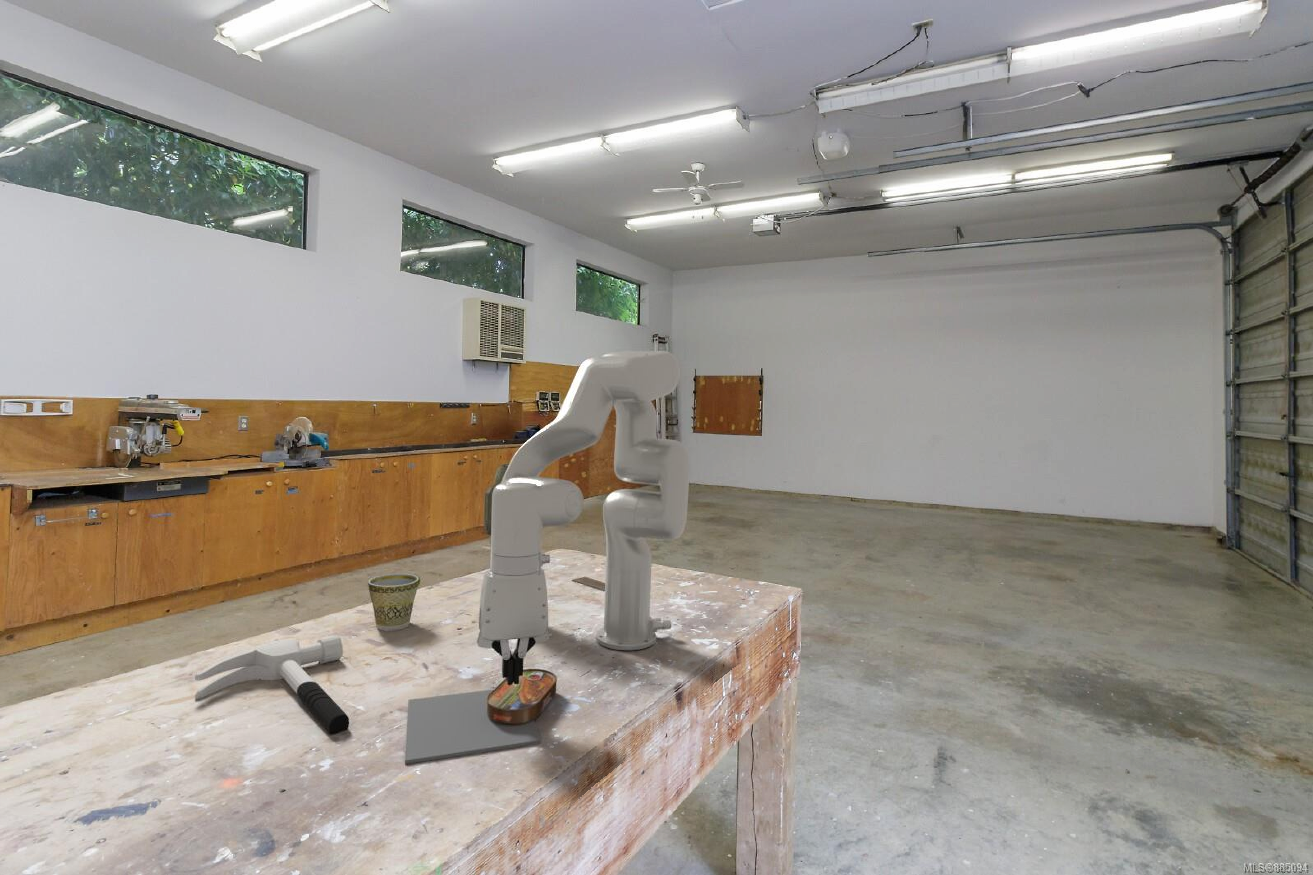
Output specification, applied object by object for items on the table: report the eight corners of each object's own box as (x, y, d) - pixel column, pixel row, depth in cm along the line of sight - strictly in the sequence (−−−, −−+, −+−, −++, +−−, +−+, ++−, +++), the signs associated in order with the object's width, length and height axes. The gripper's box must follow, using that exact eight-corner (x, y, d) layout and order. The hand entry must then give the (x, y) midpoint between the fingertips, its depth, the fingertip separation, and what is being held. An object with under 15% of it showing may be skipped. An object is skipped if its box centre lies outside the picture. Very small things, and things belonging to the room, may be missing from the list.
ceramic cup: (394, 636, 126) (395, 588, 126) (356, 629, 130) (357, 582, 129) (436, 618, 139) (437, 573, 138) (401, 611, 142) (402, 568, 142)
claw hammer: (403, 687, 96) (333, 628, 116) (235, 739, 80) (188, 659, 100) (402, 721, 96) (332, 656, 117) (234, 779, 80) (188, 692, 101)
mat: (522, 688, 105) (522, 686, 105) (540, 743, 88) (540, 739, 88) (408, 702, 99) (408, 699, 99) (405, 764, 82) (405, 760, 82)
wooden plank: (572, 578, 172) (585, 574, 176) (571, 582, 172) (585, 578, 176) (613, 592, 161) (626, 588, 165) (613, 597, 161) (626, 593, 165)
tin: (529, 712, 91) (476, 701, 92) (527, 733, 91) (474, 721, 92) (564, 672, 105) (518, 662, 107) (562, 690, 106) (517, 680, 107)
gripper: (558, 555, 101) (555, 666, 102) (463, 560, 96) (460, 676, 96) (569, 567, 94) (565, 685, 95) (466, 572, 89) (463, 698, 89)
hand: (512, 680), depth 95 cm, fingers closed
